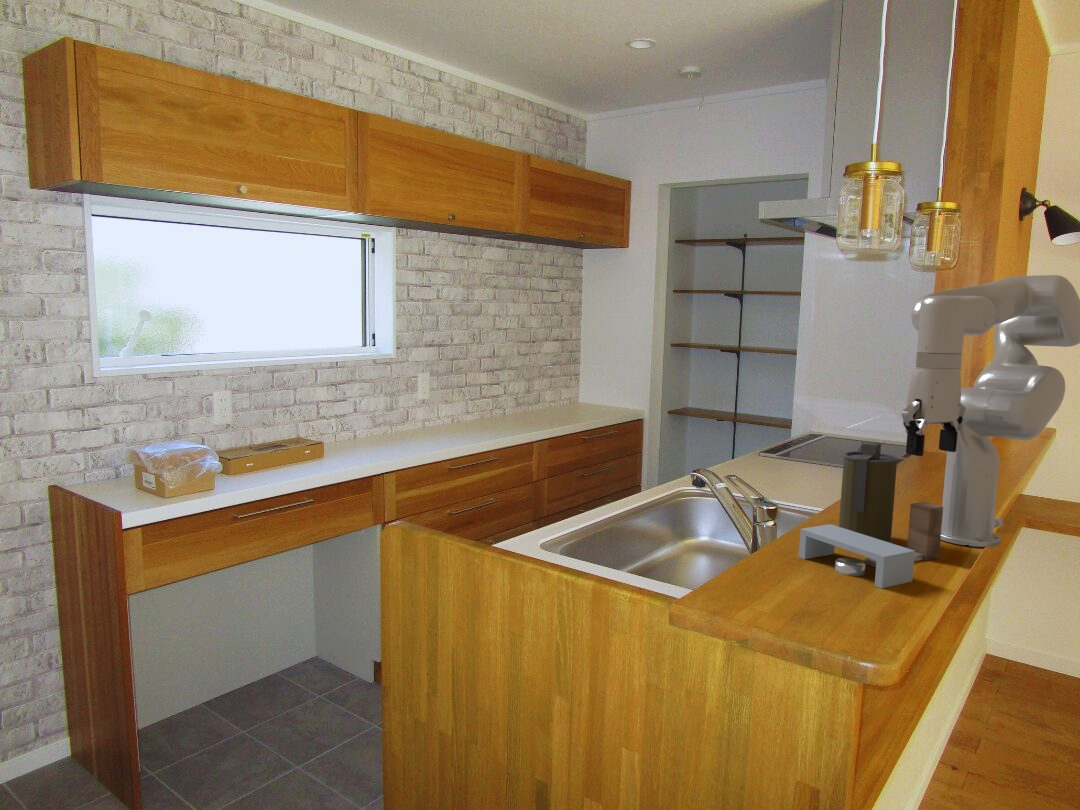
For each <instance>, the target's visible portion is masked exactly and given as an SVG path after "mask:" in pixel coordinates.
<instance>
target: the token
mask: <svg viewBox="0 0 1080 810" xmlns="http://www.w3.org/2000/svg"><path fill="white" fill-rule="evenodd" d="M834 563H835V564H834V570H835V572H837V573H839V574H842V575H846V576H853V577H857V576H859V577H860V576H861V577H862V576H863V575H865V574H866V564H865V562H863V561H862V560H859V559H855V558H850V557H839V558H836V559H835V561H834Z"/></svg>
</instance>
